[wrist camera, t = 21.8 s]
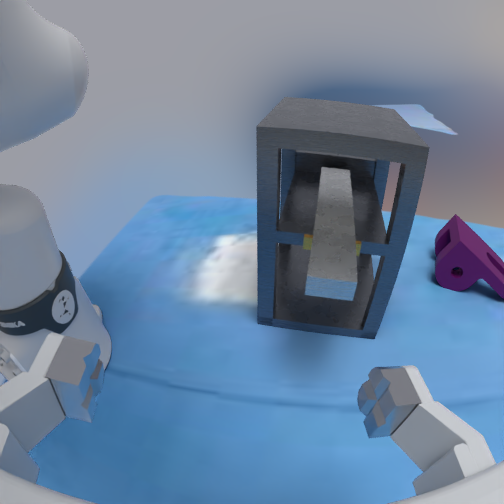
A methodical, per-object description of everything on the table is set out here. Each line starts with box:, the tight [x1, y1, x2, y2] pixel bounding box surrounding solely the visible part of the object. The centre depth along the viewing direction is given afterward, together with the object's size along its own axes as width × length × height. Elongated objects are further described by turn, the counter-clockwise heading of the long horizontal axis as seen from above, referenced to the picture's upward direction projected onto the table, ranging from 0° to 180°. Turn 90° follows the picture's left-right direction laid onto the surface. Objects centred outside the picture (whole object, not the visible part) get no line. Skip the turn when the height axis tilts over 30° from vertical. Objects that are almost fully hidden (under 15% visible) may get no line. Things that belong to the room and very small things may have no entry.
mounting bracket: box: [435, 214, 504, 299], centre depth 48 cm, size 9×8×18 cm
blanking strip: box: [305, 167, 357, 301], centre depth 35 cm, size 4×24×2 cm, turn 167°
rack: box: [257, 97, 429, 339], centre depth 41 cm, size 16×20×26 cm
